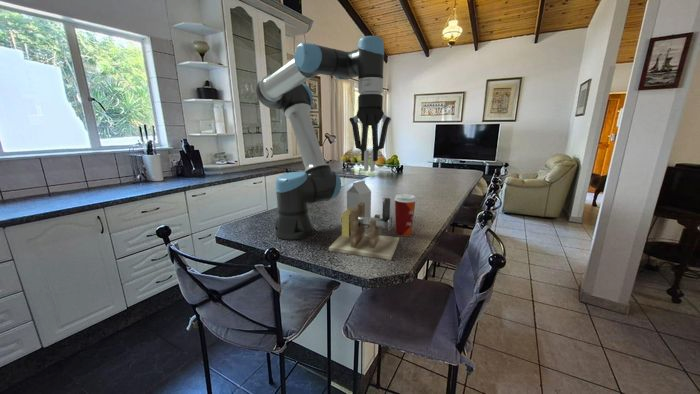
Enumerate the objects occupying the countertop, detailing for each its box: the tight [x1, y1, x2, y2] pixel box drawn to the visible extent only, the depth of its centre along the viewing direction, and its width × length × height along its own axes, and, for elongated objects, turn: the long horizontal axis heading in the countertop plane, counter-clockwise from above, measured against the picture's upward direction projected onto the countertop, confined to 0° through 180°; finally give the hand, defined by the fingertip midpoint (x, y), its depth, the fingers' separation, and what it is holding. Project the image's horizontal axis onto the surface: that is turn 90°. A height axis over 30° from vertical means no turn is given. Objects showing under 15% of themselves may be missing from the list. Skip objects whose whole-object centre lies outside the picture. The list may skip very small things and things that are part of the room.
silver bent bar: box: [340, 197, 393, 231], centre depth 93 cm, size 17×4×11 cm, turn 71°
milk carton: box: [346, 180, 372, 229], centre depth 113 cm, size 7×7×19 cm
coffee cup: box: [393, 193, 417, 237], centre depth 106 cm, size 8×8×15 cm
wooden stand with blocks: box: [328, 202, 400, 261], centre depth 95 cm, size 21×16×14 cm
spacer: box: [341, 208, 354, 237], centre depth 96 cm, size 2×8×8 cm, turn 161°
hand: (369, 170), depth 89 cm, fingers closed
